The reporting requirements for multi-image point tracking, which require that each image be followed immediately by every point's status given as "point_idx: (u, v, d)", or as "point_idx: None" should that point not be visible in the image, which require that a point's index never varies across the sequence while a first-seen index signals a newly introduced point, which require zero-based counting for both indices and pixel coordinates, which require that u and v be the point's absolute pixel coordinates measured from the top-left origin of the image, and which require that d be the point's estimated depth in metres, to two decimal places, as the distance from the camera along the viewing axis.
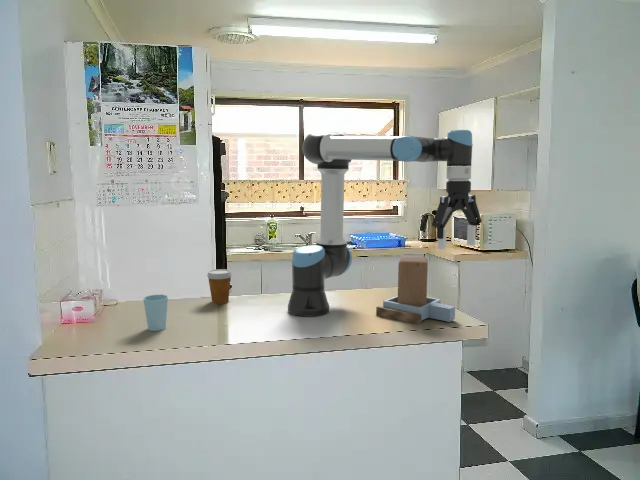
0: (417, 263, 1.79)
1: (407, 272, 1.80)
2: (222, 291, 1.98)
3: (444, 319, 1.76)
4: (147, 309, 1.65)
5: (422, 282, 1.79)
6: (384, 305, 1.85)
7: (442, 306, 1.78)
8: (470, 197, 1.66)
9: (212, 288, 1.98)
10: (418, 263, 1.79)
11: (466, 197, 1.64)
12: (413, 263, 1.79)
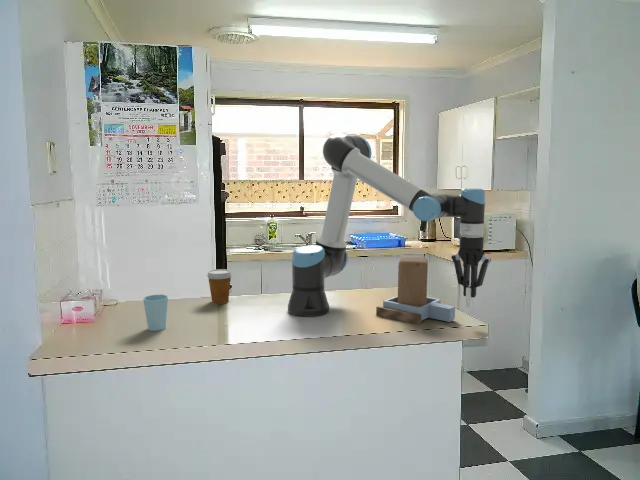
0: (417, 263, 1.79)
1: (407, 272, 1.80)
2: (222, 291, 1.98)
3: (444, 319, 1.76)
4: (147, 309, 1.65)
5: (422, 282, 1.79)
6: (384, 305, 1.85)
7: (442, 306, 1.78)
8: (484, 258, 1.67)
9: (212, 288, 1.98)
10: (418, 263, 1.79)
11: (478, 253, 1.67)
12: (413, 263, 1.79)
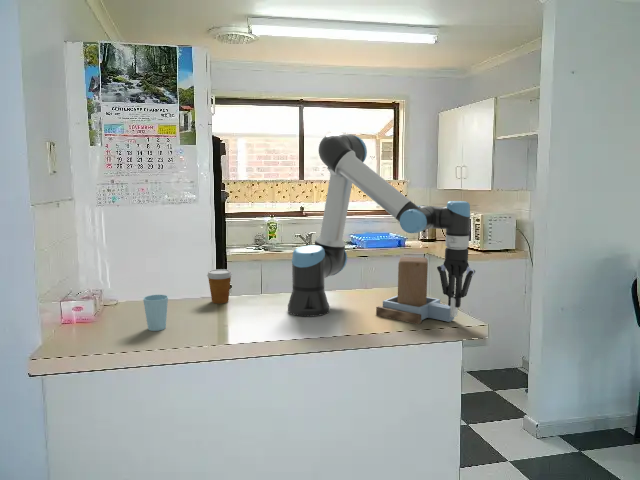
0: (417, 263, 1.79)
1: (407, 272, 1.80)
2: (222, 291, 1.98)
3: (444, 319, 1.76)
4: (147, 309, 1.65)
5: (422, 282, 1.79)
6: (384, 305, 1.85)
7: (442, 306, 1.78)
8: (469, 270, 1.70)
9: (212, 288, 1.98)
10: (418, 263, 1.79)
11: (463, 264, 1.71)
12: (413, 263, 1.79)
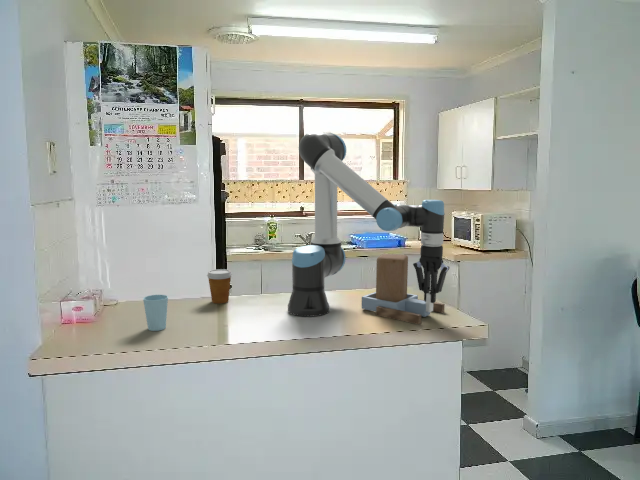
0: (394, 260, 1.84)
1: (384, 268, 1.86)
2: (222, 291, 1.98)
3: None
4: (147, 309, 1.65)
5: (399, 278, 1.85)
6: (362, 301, 1.90)
7: (418, 301, 1.83)
8: (443, 266, 1.76)
9: (212, 288, 1.98)
10: (394, 260, 1.84)
11: (437, 261, 1.76)
12: (390, 260, 1.85)
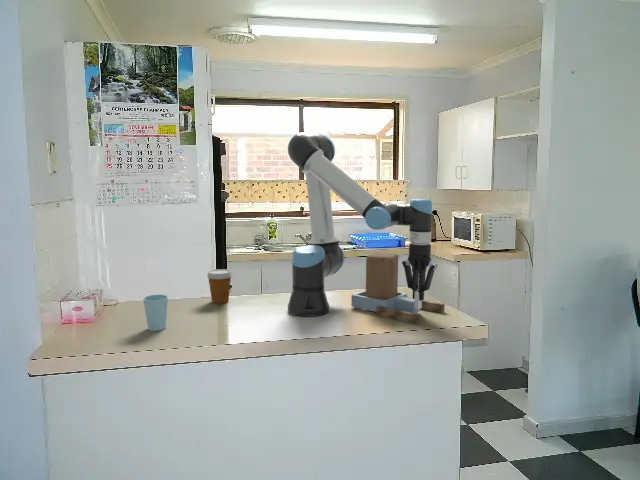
0: (382, 258, 1.87)
1: (373, 266, 1.89)
2: (222, 291, 1.98)
3: None
4: (147, 309, 1.65)
5: (387, 277, 1.87)
6: (352, 299, 1.93)
7: (406, 299, 1.86)
8: (431, 264, 1.79)
9: (212, 288, 1.98)
10: (383, 258, 1.87)
11: (425, 259, 1.79)
12: (379, 258, 1.88)
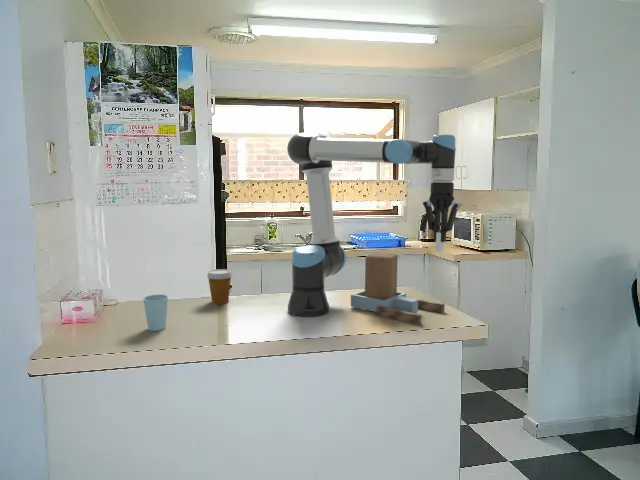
0: (381, 258, 1.88)
1: (372, 266, 1.89)
2: (222, 291, 1.98)
3: (407, 311, 1.85)
4: (147, 309, 1.65)
5: (386, 276, 1.88)
6: (352, 298, 1.93)
7: (406, 299, 1.86)
8: (454, 203, 1.71)
9: (212, 288, 1.98)
10: (382, 258, 1.87)
11: (448, 197, 1.71)
12: (378, 258, 1.88)
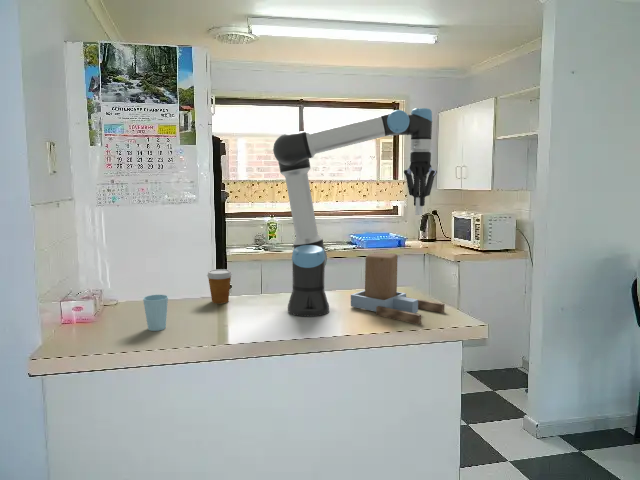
0: (381, 258, 1.88)
1: (372, 266, 1.89)
2: (222, 291, 1.98)
3: (407, 311, 1.85)
4: (147, 309, 1.65)
5: (386, 276, 1.88)
6: (352, 298, 1.93)
7: (406, 299, 1.86)
8: (431, 170, 1.90)
9: (212, 288, 1.98)
10: (382, 258, 1.87)
11: (425, 165, 1.90)
12: (378, 258, 1.88)
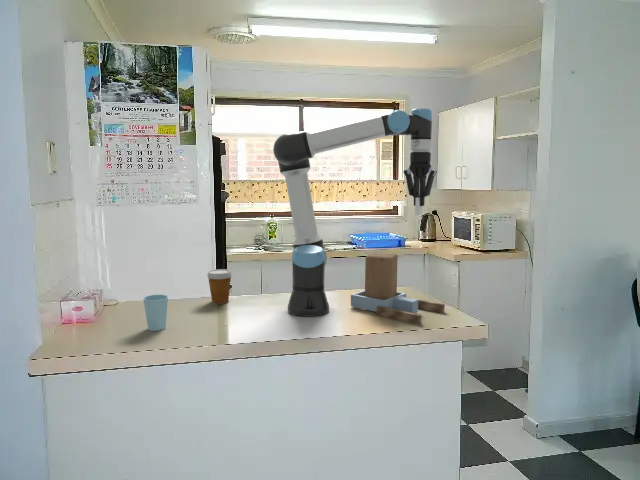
0: (381, 258, 1.88)
1: (372, 266, 1.89)
2: (222, 291, 1.98)
3: (407, 311, 1.85)
4: (147, 309, 1.65)
5: (386, 276, 1.88)
6: (352, 298, 1.93)
7: (406, 299, 1.86)
8: (431, 170, 1.90)
9: (212, 288, 1.98)
10: (382, 258, 1.87)
11: (425, 165, 1.91)
12: (378, 258, 1.88)
